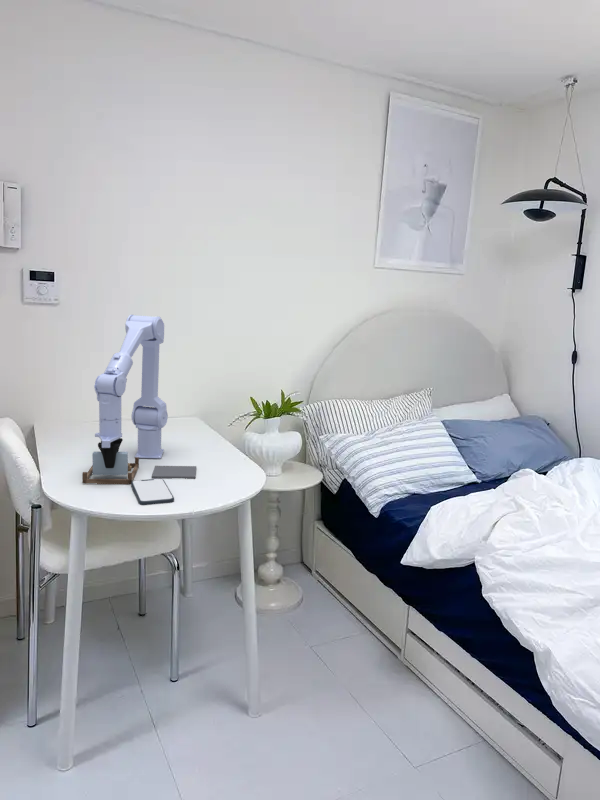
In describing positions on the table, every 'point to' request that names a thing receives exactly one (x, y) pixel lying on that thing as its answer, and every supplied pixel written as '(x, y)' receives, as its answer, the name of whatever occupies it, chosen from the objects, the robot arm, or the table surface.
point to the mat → (174, 472)
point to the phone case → (151, 491)
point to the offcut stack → (129, 467)
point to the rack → (112, 481)
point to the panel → (118, 469)
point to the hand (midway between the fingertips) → (110, 466)
